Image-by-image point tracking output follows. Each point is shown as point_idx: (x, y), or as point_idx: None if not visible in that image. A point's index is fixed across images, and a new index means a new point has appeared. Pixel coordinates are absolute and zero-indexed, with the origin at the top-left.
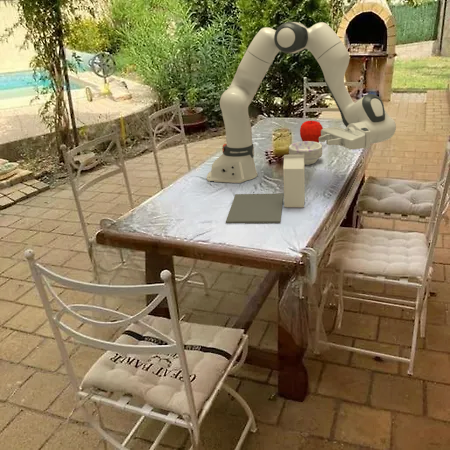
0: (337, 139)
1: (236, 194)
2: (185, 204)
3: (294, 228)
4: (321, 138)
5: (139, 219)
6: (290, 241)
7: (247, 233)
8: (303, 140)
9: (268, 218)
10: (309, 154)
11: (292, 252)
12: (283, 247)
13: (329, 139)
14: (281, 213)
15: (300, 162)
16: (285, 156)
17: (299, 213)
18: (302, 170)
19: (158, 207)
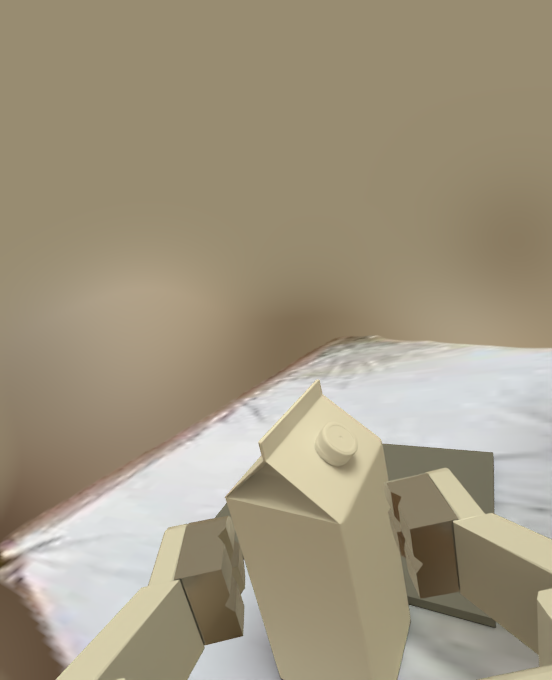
0: (69, 670)
1: (489, 454)
2: (434, 382)
3: (135, 578)
4: (385, 492)
5: (369, 351)
6: (82, 548)
7: (202, 472)
8: None
9: None
10: None
11: (37, 540)
12: (75, 527)
13: (208, 546)
14: None
15: (256, 464)
16: (314, 390)
17: None
18: (229, 501)
19: (424, 357)
